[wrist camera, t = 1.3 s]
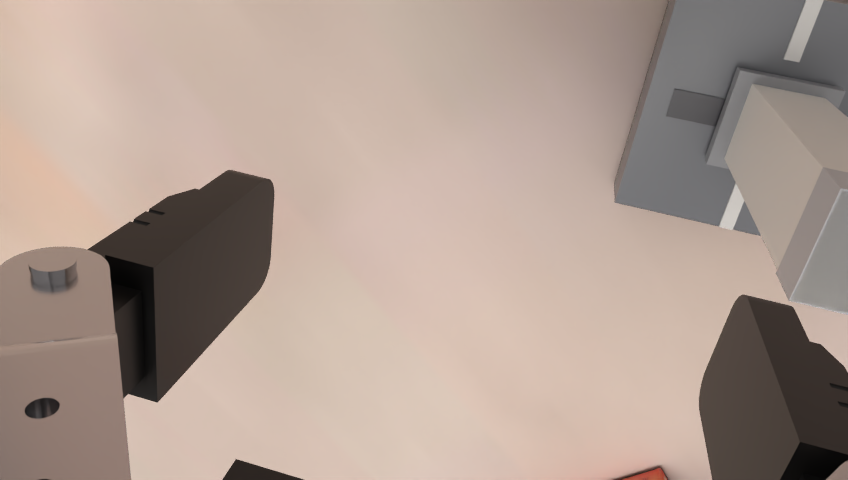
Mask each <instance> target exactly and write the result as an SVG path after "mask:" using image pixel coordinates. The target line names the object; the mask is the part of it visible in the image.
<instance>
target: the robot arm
mask: <svg viewBox="0 0 848 480" xmlns="http://www.w3.org/2000/svg"><path fill="white" fill-rule="evenodd" d="M273 208H274V187H273V183H272V181H271V180H270V179H266V178H262V177H258V176H254V175H249V174H245V173H241V172H237V171H233V170H228V171H226V172H224V173H223V174H221V175H220V176H218V177H217V178H215V179H214V180H213V181H211V182H210V183H208V184H207V185H205V186H204V187H202V188H201V189H199V190H198V189H192V190H189V191H186V192H182V193H179V194H175V195H172V196H169V197H167V198H165V199H164V200H162V201H161V202H159V203H158V204H156V205H155V206H153V207H152V208H150V209H149V212H146V211H145V212H144V213H142V214H141V215H139V216H138V217H136V218H135V219H134V222H129V223H127V224H126V225H124V226H123V227H121V228H120V229H118V230H117V231H115V232H113V233H112V234H110V235H109V236H107V237H106V238H104V239H103V240H101V241H100V242H98V243H97V244H95V245H94V246H92V247H91V248H89V249H88V250H86V249H82V248H75V247H49V248H41V249H36V250H32V251H28V252H25V253H22V254H19V255H17V256H14V257H12V258H10V259H9V260H7V261H6V262H4V263H3V264H2V265H1V266H0V480H131V474H130V464H129V453H128V443H127V432H126V422H125V411H124V401H123V398H124V397H125V396H126V395H127V394H130V395H134V396H137V397H141V398H144V399H147V400H151V401H154V402H158V401H159V400H160V399H161V398H162V397H163V396H164V395H165V394H166V393H167V392H168V390H169V389H170V388H171V387H172V386H173V385H174V384H175V383H176V382H177V381H178V379H179V378H180V377H181V376H182V375H183V374H184V373H185V372H186V371H187V370H188V368H189V367H190V366H191V365H192V364H193V363H194V362H195V361H196V360H197V359H198V357H199V356H200V355H201V354H202V353H203V352H204V351H205V350H206V349H207V348H208V346H209V345H210V344H211V343H212V342H213V341H214V340H215V339H216V338H217V337H218V335H219V334H220V333H221V332H222V331H223V330H224V329H225V328H226V327H227V326H228V324H229V323H230V322H231V321H232V320H233V319H234V318H235V317H236V316H237V315H238V313H239V312H240V311H241V310H242V309H243V308H244V307H245V306H246V305H247V304H248V302H249V301H250V300H251V299H252V298H253V297H254V296H255V295H256V294H257V292H258V291H259V290H260V288H261V287H262V285H263V283H264V281H265V279H266V276H267V273H268V269H269V265H270V258H271V242H272V225H273ZM699 410H700V416H701V421H702V426H703V432H704V437H705V442H706V448H707V453H708V458H709V464H710V469H711V474H712V480H848V373H847V371H846V369H845V367H844V366H843V365H842V364H841V363H840V362H839V361H838V360H837V359H836V358H834V357H833V356H832V355H831V354H830V353H829V352H828V351H827V350H826V349H825V348H824V347H823V346H822V345H821V344H817V343H813V342H810V341H809V339H808V337H807V335H806V333H805V331H804V329H803V327H802V324H801V322H800V320H799V318H798V316H797V314H796V312H795V310H794V308H793V307H792V306H789V305H785V304H780V303H776V302H772V301H768V300H764V299H760V298H756V297H751V296H747V295H741V296H739V297H738V299H737V300H736V301H735V303H734V305H733V307H732V309H731V311H730V314H729V316H728V318H727V321H726V323H725V325H724V328H723V330H722V333H721V335H720V337H719V340H718V342H717V344H716V347H715V349H714V352H713V354H712V356H711V359H710V361H709V363H708V366H707V368H706V371H705V373H704V376H703V380H702V384H701V389H700V396H699ZM223 480H303V479H300V478H297V477H293V476H290V475H287V474H283V473H280V472H277V471H273V470H270V469H267V468H263V467H260V466H257V465H254V464H250V463H247V462H244V461H240V460H237V459H236V460H235V462H234V463H233V465H232V466H231V468H230V469H229V471H228V472H227V474H226V475H225V477H224V478H223Z"/></svg>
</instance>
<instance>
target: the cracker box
mask: <svg viewBox="0 0 848 480" xmlns="http://www.w3.org/2000/svg"><path fill="white" fill-rule="evenodd" d="M622 480H668V479H667V478H666V476H665V474H664V473H663V471H662V469H661V468H657V469H655V470H652V471H648V472H646V473H642V474H639V475H635V476H632V477H628V478H625V479H622Z"/></svg>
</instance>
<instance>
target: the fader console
mask: <svg viewBox="0 0 848 480" xmlns="http://www.w3.org/2000/svg"><path fill="white" fill-rule="evenodd" d="M737 67H739V68H744V69H750V70H755V71H760V72H765V73H770V74H775V75H780V76H785V77H790V78H795V79H800V80H805V81H810V82H815V83H821V84H826V85H831V86H836V87H841V88H842V89H843V90H845V91H846V92H845V95H844V97H843V99H842V101H841V104H840V106H839V108H838V109H839V110H840V111H841V112H842V113H843V114H844V115H846V116H847V117H848V1H847V0H669V2H668V6H667V9H666V12H665V16H664V19H663V22H662V26H661V29H660V32H659V36H658V39H657V42H656V46H655V49H654V52H653V56H652V59H651V62H650V66H649V69H648V72H647V76H646V79H645V82H644V86H643V89H642V92H641V96H640V99H639V102H638V106H637V109H636V112H635V116H634V119H633V122H632V126H631V129H630V132H629V136H628V139H627V142H626V146H625V149H624V152H623V156H622V159H621V163H620V166H619V169H618V173H617V176H616V179H615V183H614V195H615V203H619V204H623V205H628V206H632V207H637V208H641V209H645V210H650V211H654V212H658V213H663V214H667V215H672V216H676V217H680V218H685V219H689V220H693V221H698V222H702V223H707V224H711V225H715V226H719V227H721V228H725V229H729V230H737V231H742V232H746V233H750V234H755V235H759V236H761V235H760V232H759V230H758V228H757V226H756V224H755V222H754V220H753V218H752V216H751V214H750V211H749V209H748V207H747V205H746V203H745V201H744V199H743V197H742V195H741V193H740V190H739V188H738V186H737V184H736V182H735V180H734V178H733V176H732V174H731V172H730V170H729V169H726V168H721V167H717V166H712V165H708V164H706V162H705V156H706V153H707V150H708V148H709V145H710V142H711V139H712V136H713V134H714V131H715V128H716V125H717V122H718V120H719V117H720V114H721V111H722V108H723V106H724V103H725V100H726V97H727V94H728V92H729V89H730V86H731V83H732V81H733V78H734V75H735V72H736V69H737Z"/></svg>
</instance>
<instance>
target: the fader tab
mask: <svg viewBox="0 0 848 480" xmlns="http://www.w3.org/2000/svg"><path fill="white" fill-rule="evenodd" d="M845 92H846V91H845V90H843V89H842V88H841V87H836V86H831V85H826V84H821V83H815V82H810V81H805V80H800V79H795V78H790V77H785V76H780V75H775V74H770V73H765V72H760V71H755V70H750V69H744V68H739V67H737V69H736V72H735V75H734V78H733V81H732V83H731V86H730V89H729V92H728V94H727V97H726V100H725V103H724V106H723V108H722V111H721V114H720V117H719V120H718V122H717V125H716V128H715V131H714V134H713V136H712V139H711V142H710V145H709V148H708V150H707V153H706V156H705V162H706V164H708V165H712V166H717V167H721V168H726V169H729V170H730V172H731V174H732V176H733V178H734V180H735V182H736V184H737V186H738V188H739V190H740V193H741V195H742V197H743V199H744V201H745V203H746V205H747V207H748V209H749V211H750V214H751V216H752V218H753V220H754V222H755V224H756V226H757V228H758V230H759V232H760V235H761V237H762V239H763V241H764V243H765V245H766V247H767V249H768V251H769V253H770V256H771V258H772V260H773V262H774V264H775V266H776V268H777V272H776V274H777V276H778V279H779V281H780V283H781V285H782V287H783V289H784V291H785V294H786V296H787V298H788V300H789V301H792V302H796V303H800V304H804V305H809V306H813V307H817V308H821V309H825V310H829V311H834V312H838V313H842V314H846V315H848V117H847V116H846V115H844V114H843V113H842V112H841V111H840V110H839V109H838V108H839V106H840V104H841V101H842V99H843V97H844V95H845Z"/></svg>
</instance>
